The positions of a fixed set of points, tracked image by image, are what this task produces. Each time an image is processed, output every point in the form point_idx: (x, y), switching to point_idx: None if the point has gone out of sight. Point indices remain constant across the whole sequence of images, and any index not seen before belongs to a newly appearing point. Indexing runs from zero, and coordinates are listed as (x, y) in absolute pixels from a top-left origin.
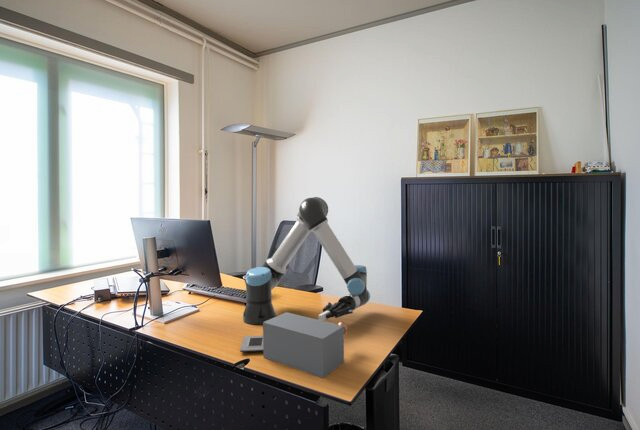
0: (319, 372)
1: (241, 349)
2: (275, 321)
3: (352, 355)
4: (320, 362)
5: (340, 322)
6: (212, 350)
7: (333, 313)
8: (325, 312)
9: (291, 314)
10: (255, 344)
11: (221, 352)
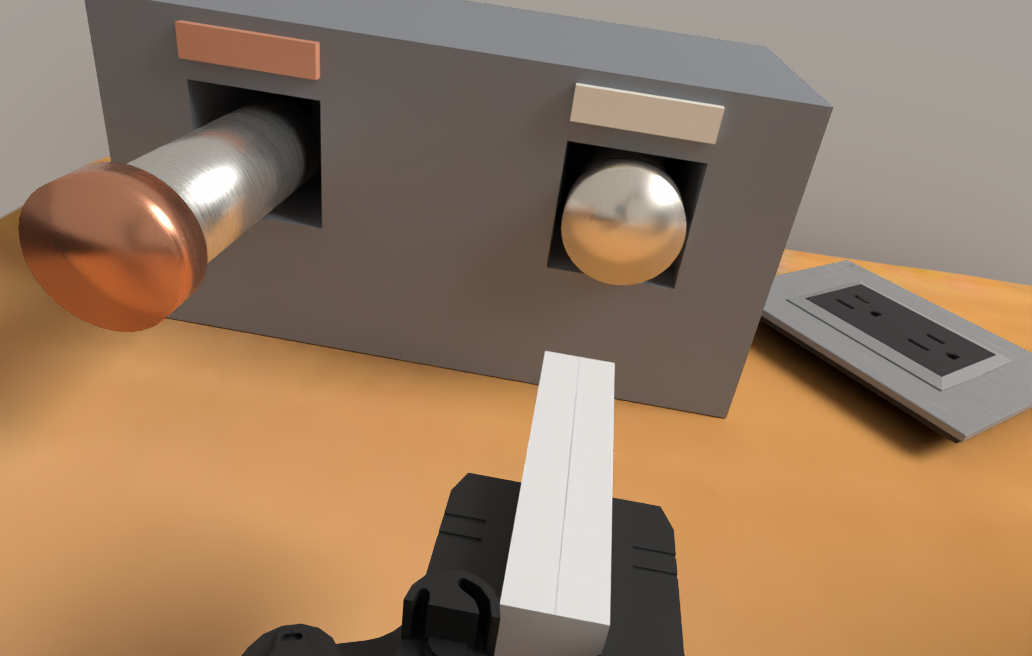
0: None
1: (851, 266)
2: (707, 47)
3: (38, 395)
4: None
5: (129, 186)
6: (1003, 293)
7: (380, 645)
8: (563, 490)
9: (728, 85)
10: (851, 302)
11: (941, 287)
